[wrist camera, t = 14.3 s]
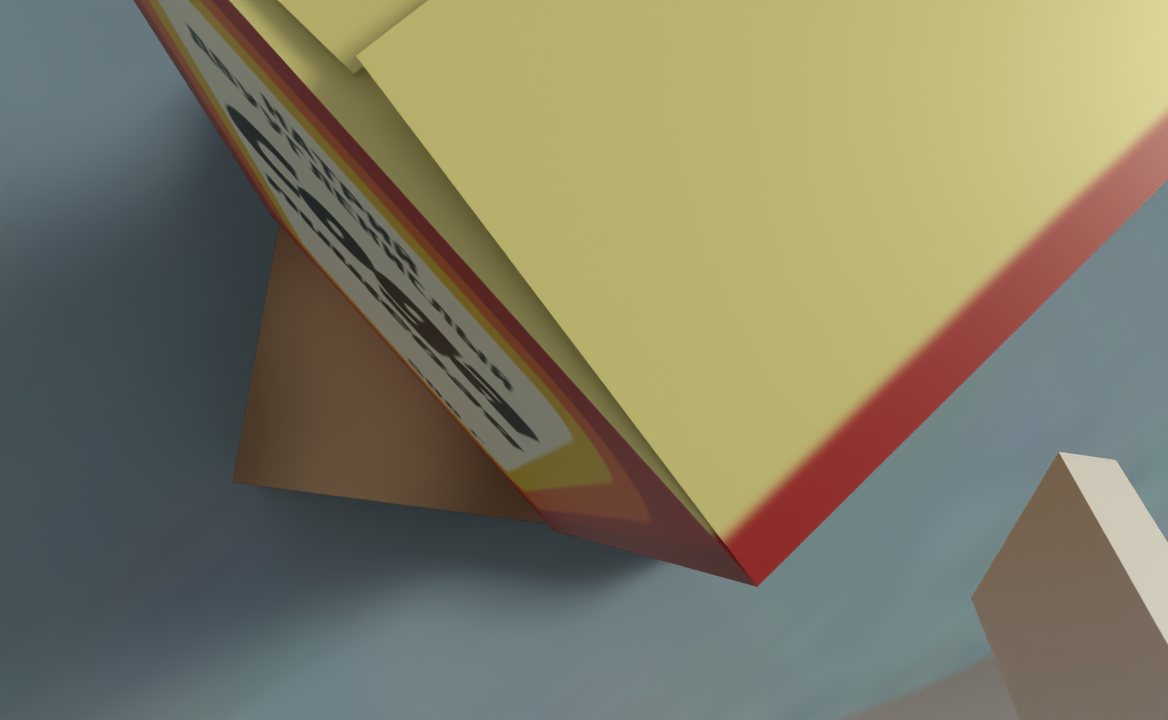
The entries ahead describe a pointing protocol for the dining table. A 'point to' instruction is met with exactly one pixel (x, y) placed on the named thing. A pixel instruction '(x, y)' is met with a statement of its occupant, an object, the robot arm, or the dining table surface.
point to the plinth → (352, 410)
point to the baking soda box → (688, 221)
